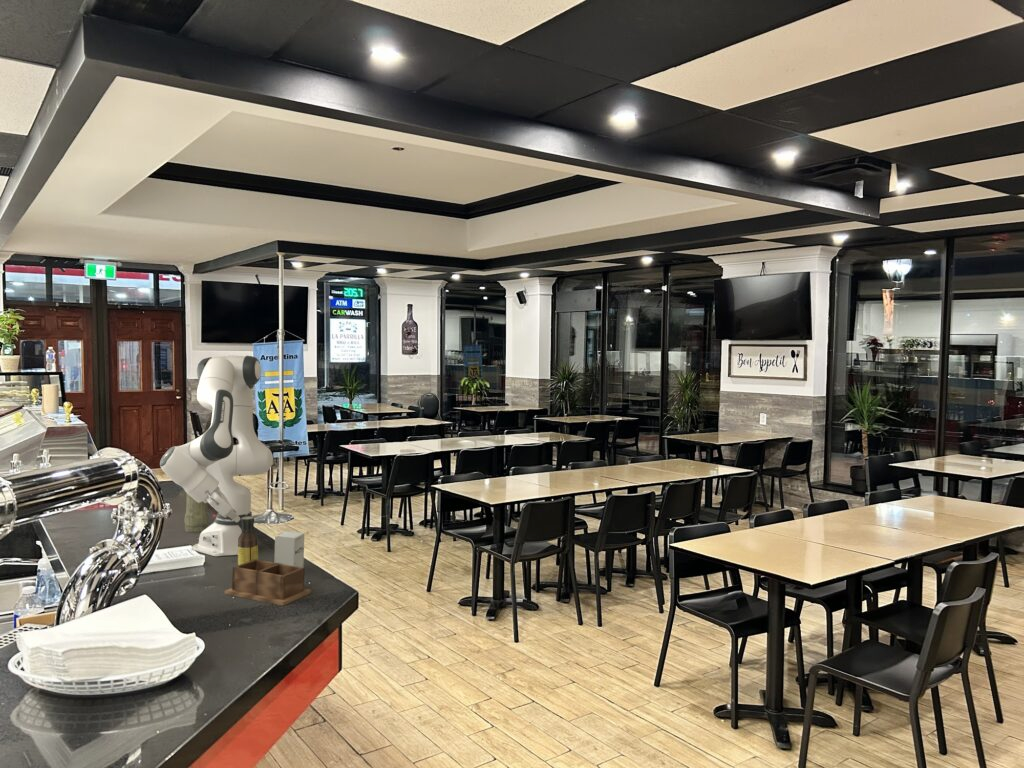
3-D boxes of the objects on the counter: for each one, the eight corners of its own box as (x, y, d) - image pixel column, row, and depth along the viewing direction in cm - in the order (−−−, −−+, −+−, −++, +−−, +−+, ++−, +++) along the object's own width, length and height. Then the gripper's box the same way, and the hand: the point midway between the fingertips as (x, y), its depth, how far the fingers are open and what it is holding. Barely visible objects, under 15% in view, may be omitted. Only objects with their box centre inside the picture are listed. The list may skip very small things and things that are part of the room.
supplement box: (293, 575, 244) (294, 537, 244) (273, 573, 246) (274, 535, 245) (304, 569, 251) (305, 532, 251) (284, 566, 253) (285, 530, 252)
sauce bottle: (255, 573, 244) (256, 514, 243) (259, 579, 239) (261, 518, 238) (235, 576, 241) (236, 516, 240) (239, 581, 236) (240, 520, 235)
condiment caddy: (224, 593, 224) (225, 567, 223) (254, 581, 236) (254, 557, 235) (283, 605, 216) (283, 579, 215) (310, 592, 228) (311, 567, 227)
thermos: (186, 534, 289) (187, 446, 287) (183, 527, 299) (184, 442, 298) (210, 532, 293) (212, 445, 292) (206, 526, 304) (208, 442, 302)
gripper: (216, 487, 224) (248, 516, 229) (209, 476, 242) (239, 503, 247) (199, 502, 222) (233, 532, 227) (194, 490, 240) (225, 517, 245)
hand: (236, 517), depth 237 cm, fingers open, 8 cm apart
